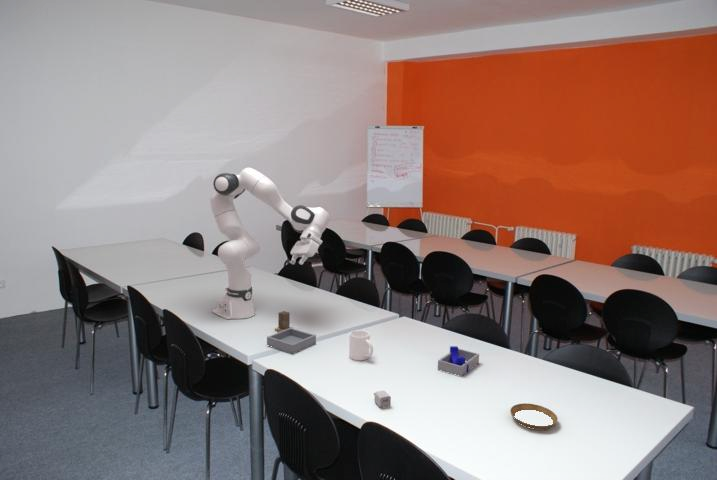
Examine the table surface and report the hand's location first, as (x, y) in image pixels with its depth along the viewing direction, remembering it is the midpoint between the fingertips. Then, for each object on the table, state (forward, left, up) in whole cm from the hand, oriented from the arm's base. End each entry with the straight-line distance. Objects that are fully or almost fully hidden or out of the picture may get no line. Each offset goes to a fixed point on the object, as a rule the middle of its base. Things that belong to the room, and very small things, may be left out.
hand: (296, 263), depth 252 cm
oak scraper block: (0, -8, -31) cm, 32 cm away
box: (+14, -19, -31) cm, 39 cm away
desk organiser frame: (+82, +7, -31) cm, 88 cm away
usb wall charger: (+74, -38, -31) cm, 89 cm away
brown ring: (+120, -17, -31) cm, 125 cm away
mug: (+47, -11, -31) cm, 57 cm away
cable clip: (+82, +7, -31) cm, 88 cm away
